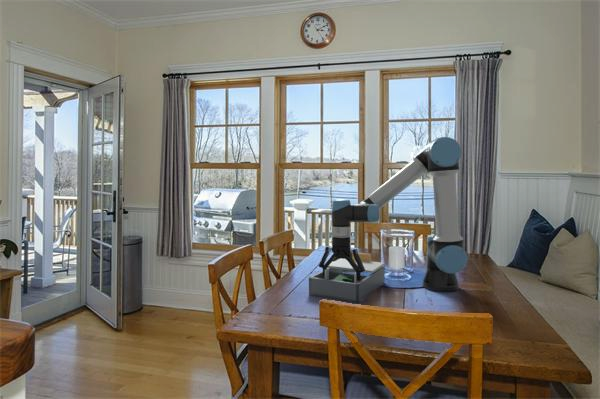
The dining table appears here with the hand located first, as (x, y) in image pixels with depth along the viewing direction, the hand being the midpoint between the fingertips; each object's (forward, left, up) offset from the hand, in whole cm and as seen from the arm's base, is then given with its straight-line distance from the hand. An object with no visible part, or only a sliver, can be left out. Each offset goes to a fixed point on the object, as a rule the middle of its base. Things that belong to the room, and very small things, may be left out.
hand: (341, 286), depth 166 cm
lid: (0, -16, +5) cm, 17 cm away
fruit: (+17, -43, -3) cm, 46 cm away
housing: (0, -8, -3) cm, 9 cm away
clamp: (0, 0, -2) cm, 2 cm away
